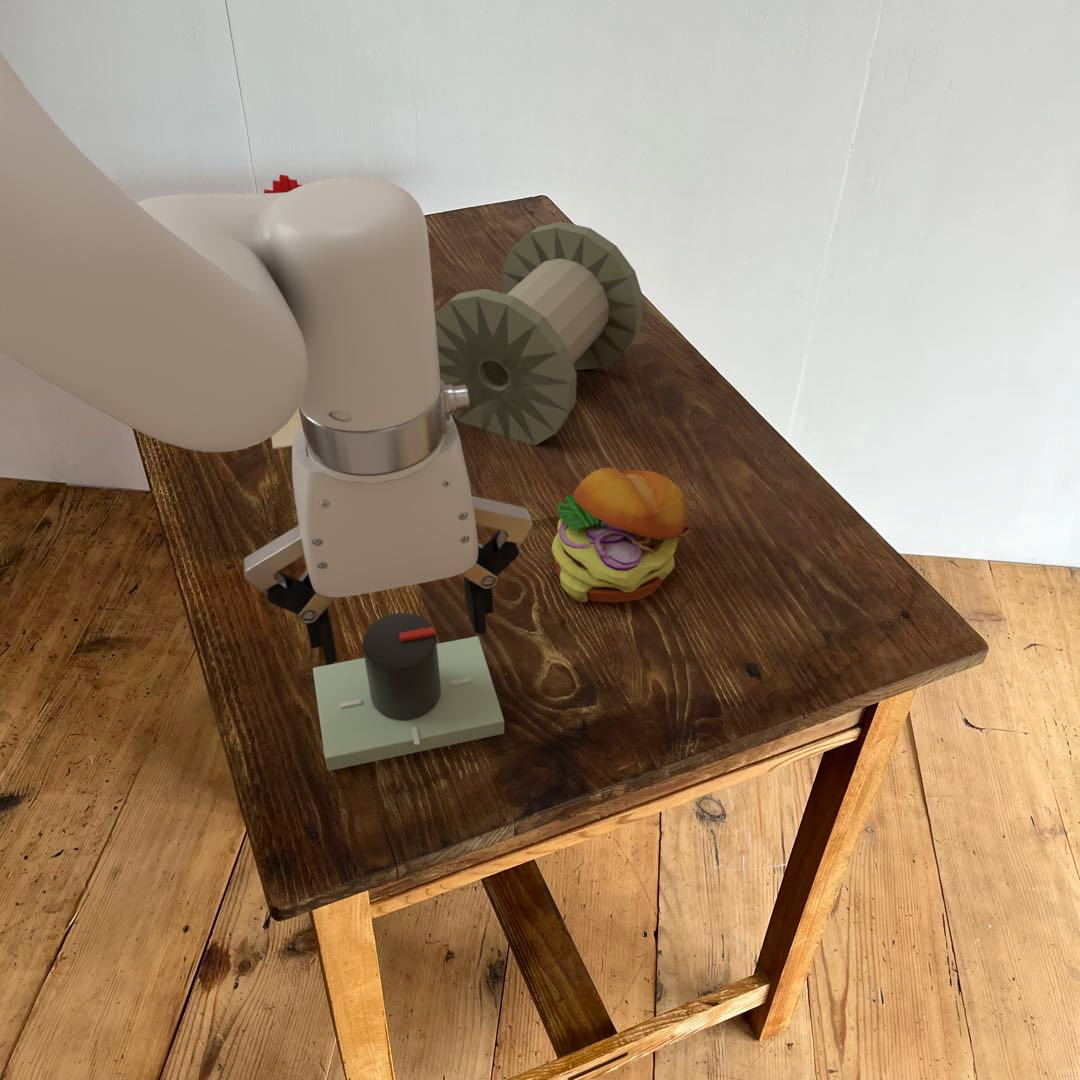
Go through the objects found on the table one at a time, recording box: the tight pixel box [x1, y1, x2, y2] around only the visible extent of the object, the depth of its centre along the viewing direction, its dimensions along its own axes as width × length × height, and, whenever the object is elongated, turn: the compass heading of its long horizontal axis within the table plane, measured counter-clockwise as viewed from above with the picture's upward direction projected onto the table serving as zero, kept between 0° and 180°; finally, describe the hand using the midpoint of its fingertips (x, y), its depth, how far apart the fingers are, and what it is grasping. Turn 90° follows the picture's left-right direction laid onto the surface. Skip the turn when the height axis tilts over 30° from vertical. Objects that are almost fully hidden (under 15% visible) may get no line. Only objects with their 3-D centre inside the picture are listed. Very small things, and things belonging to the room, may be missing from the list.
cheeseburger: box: [551, 467, 691, 603], centre depth 81 cm, size 10×11×10 cm
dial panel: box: [312, 635, 505, 772], centre depth 71 cm, size 12×9×3 cm
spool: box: [435, 221, 645, 446], centre depth 97 cm, size 16×15×15 cm
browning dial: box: [361, 612, 441, 720], centre depth 68 cm, size 5×5×6 cm
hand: (403, 633), depth 66 cm, fingers open, 9 cm apart
